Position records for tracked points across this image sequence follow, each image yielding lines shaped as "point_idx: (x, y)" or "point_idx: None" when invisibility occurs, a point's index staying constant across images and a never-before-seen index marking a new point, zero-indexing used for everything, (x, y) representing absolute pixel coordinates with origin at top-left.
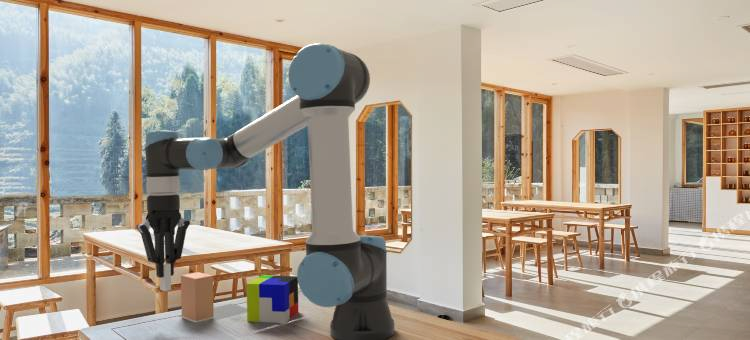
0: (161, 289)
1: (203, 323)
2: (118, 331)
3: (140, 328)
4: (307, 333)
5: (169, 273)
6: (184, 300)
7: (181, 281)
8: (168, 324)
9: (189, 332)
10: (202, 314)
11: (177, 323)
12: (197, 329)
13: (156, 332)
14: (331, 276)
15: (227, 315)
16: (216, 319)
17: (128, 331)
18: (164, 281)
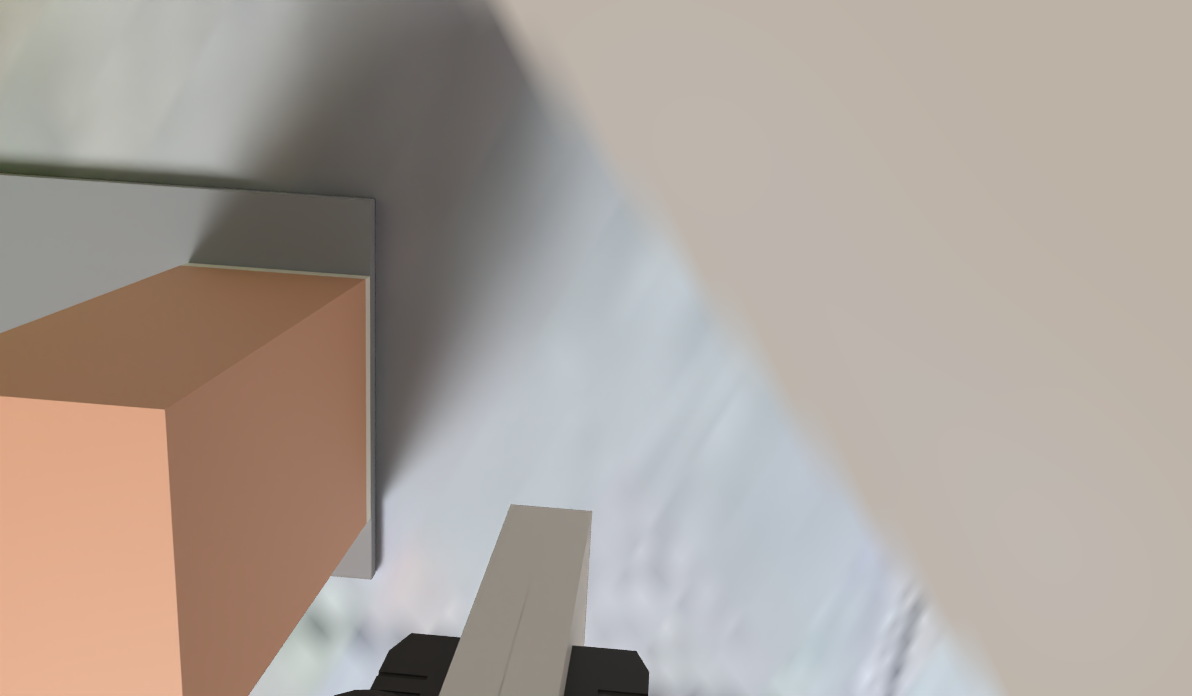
0: (585, 611)
1: (334, 200)
2: (887, 638)
3: (735, 567)
4: None
5: (488, 626)
6: (311, 540)
7: None
8: (527, 475)
9: (538, 114)
10: (278, 282)
11: (462, 437)
12: (443, 132)
13: (717, 360)
14: None
15: (52, 233)
16: (187, 210)
17: (840, 574)
18: (580, 590)
